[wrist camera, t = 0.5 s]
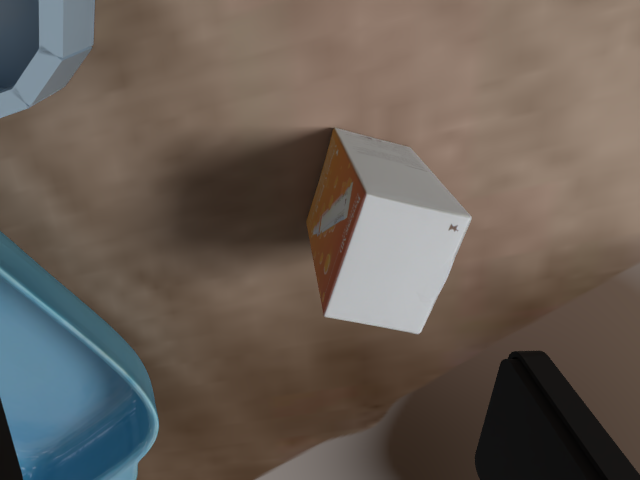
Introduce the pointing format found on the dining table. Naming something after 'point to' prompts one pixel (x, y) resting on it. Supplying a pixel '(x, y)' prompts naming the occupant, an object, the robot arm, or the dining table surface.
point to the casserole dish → (68, 381)
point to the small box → (381, 233)
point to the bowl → (41, 48)
